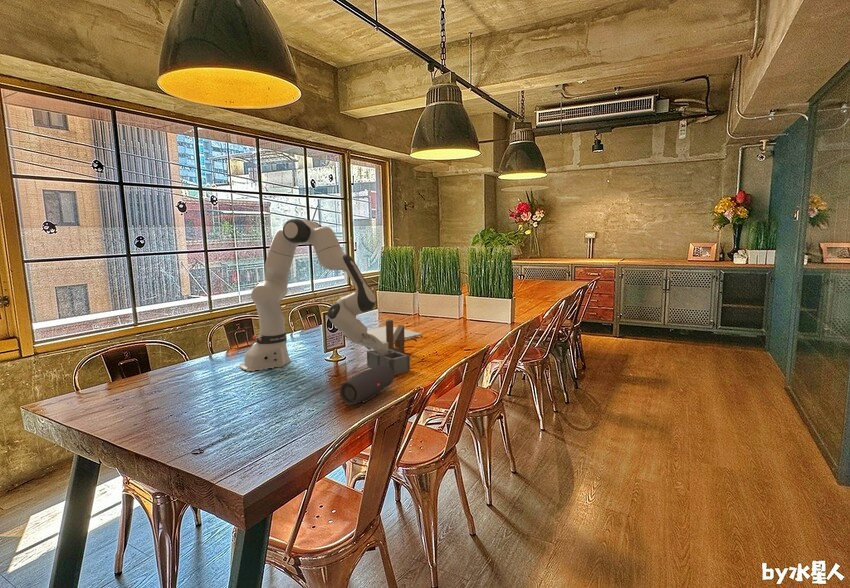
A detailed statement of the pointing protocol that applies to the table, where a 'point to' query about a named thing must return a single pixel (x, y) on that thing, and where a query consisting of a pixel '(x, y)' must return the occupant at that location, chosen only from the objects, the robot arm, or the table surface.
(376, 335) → the white flat board
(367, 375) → the bluetooth speaker
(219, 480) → the table surface
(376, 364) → the grey cinder block
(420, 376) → the table surface
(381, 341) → the clay bar
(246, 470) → the table surface
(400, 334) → the wooden block
